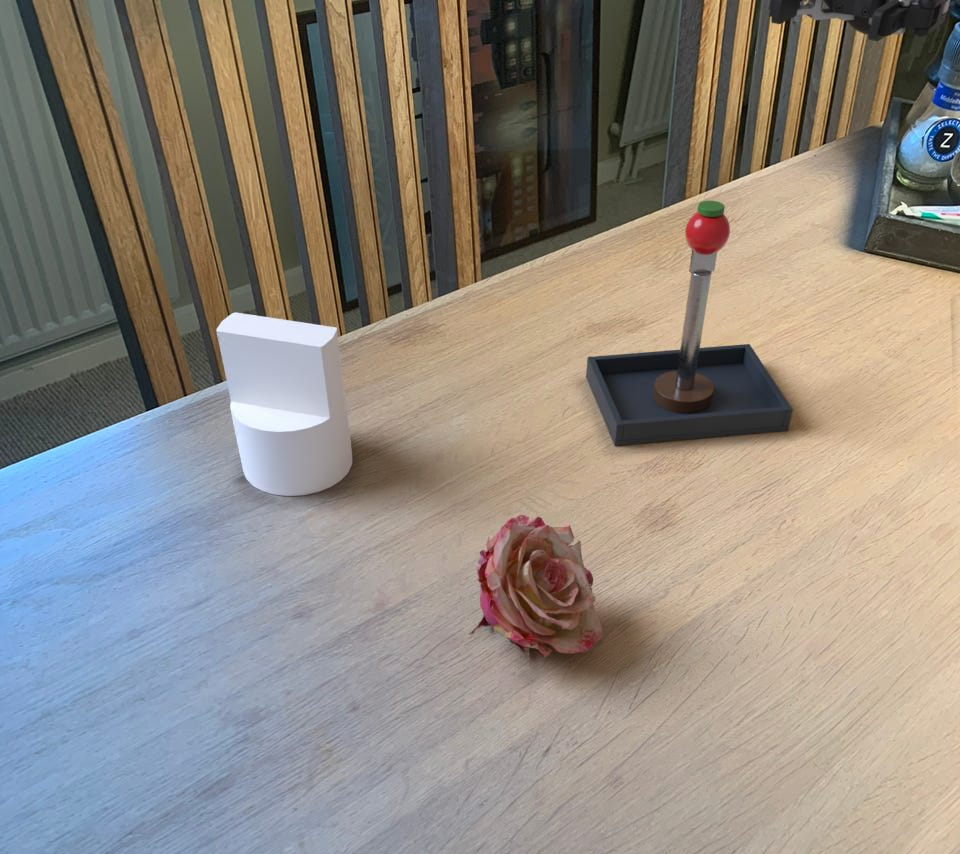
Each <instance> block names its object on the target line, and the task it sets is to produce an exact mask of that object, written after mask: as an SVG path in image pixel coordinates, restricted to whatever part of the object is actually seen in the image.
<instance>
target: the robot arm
mask: <svg viewBox="0 0 960 854" xmlns="http://www.w3.org/2000/svg"><path fill="white" fill-rule="evenodd" d="M801 3H805V4H801ZM823 3H824V4H825V5H826V6H827V7H828V8H823ZM950 3H951V0H769V5H768V11H769V15H768V17H771V19H770V20H771V23H772V24H776V25H782V24H784V23H785V22H787V21H790V20H791V19H793V18H795V17H798V16H805V15H806V17H808V18H810V19H812V20H814V21H823V20H830V19H839V20H840V21H844V22H845V21H846V22H847V24H849V26H851V27H852V28H853V29H854V30H855V31H856V32H859V33H860V34H863V35H867V36H868V37H867V39H868V40H869V41H872V42H879V41H881V40H883V39H884V38H885V37H890V36H892V35H901V34H904V33H905V32H906V29H907V28H910V29H913V33H912V34H914V35H915V36H917V37H924V36H928V35H930V34H931V33H932V32H933V31H935V30H936V29H937V28H938V27H939V26H940V25H941V24H943V23H944V22H945V20H946V17H947V14H948V9H949V6H950Z"/></svg>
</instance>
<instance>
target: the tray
mask: <svg viewBox="0 0 960 854" xmlns="http://www.w3.org/2000/svg"><path fill="white" fill-rule="evenodd" d="M679 354H680V349H671V350H669V349H668V350H658V351H656V350H655V351H646V352H644V351H643V352H632V353H631V352H630V353H621V354H619V353H618V354H608V355H607V354H606V355H597V356H596V355H595V356H587V360H586V372H585V378H586V381H587V383H588V386H589V387H590V390H591V392H592V395H593V397H594V400H595V402H596V404H597V408H598V409H599V412H600V414H601V416H602V419H603V421H604V424H605V426H606V429H607V431H608V434H609V436H610V438H611V441H612V442H613V446H614V447H618V446H620V447H621V446H631V445H642V444H653V443H664V442H675V441H688V440H696V439H697V440H698V439H707V438H708V439H710V438H719V437H730V436H731V437H733V436H742V435H754V434H764V433H776V432H787V431H789V428H790V423H791V420H792V415H793V411H794V410H793V408H792V405H790V403H789V401H788V399H786V397H785V395H784V393H783V392H782V391H781V389H780V388H779V386H778V384H777V383H776V382H775V380H774V379H773V377H772V376H771V374H770V372H769V371H768V370H767V368H766V367H765V365H764V364H763V362H762V360H761V359H760V358H759V356H758V354H757V352H755V350H754V348H753V346H751V344H750V343H744V344H732V345H731V344H730V345H718V346H708V347H705V346H704V347H700V349H699V355H698V361H697V368H696V373H698V374H701V375H703V376H705V377H707V378H708V379H709V380H710V381H711V382H712V383H713V385H714V394H713V399H712V403H711V405H710V406H709V407H708V408H706V409H705V410H702V411H700V412H696V413H677V412H672V411H669V410H666V409H664V408H662V407H661V406H659V405H658V404H657V403H656V402H655V400H654V398H653V390H654V383H655V380H656V379H657V378H658V377H659V376H660V375H662V374H664V373H667V372H671V371H677V368H678V361H679Z"/></svg>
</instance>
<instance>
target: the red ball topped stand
mask: <svg viewBox="0 0 960 854" xmlns="http://www.w3.org/2000/svg"><path fill="white" fill-rule="evenodd" d="M684 234H685V241H686V244H687V245H688V247H689V248H690V249H691V255H690V261H689V269H688V272H689V273H690V279H689V285H688V292H687V298H686V306H685V313H684V320H683V328H682V334H681V340H680V341H681V342H680V348H679V350H680V354H679V361H678V368H677V371H671V372H667V373H664V374H662V375H660V376H659V377H658V378H657V379H656V380H655V383H654V390H653V398H654V400H655V402H656V403H657V404H658V405H659V406H661V407H662V408H664V409H666V410H669V411H672V412H677V413H696V412H700V411H702V410H705V409H706V408H708V407H709V406H710V405H711V403H712V399H713V394H714V385H713V383H712V382H711V381H710V380H709V379H708V378H707V377H705V376H703V375H701V374H698V373H696V368H697V361H698V355H699V349H700V348H701V342H702V335H703V329H704V323H705V317H706V311H707V305H708V297H709V292H710V286H711V285H710V284H711V279H712V272H715V269H716V262H717V257H718V252H720V251H721V250H722V249H723V248H724V247H725V246H726V245H727V242H728V241H729V238H730V235H731V226H730V222H729V219H728V218H727V216H726V214H725V204H724V203H723V202H720V201H717V200H703V201H701V202H699V203H698V205H697V212H695V213H694V214H693V215H692V216H691V217H690V218H689V220H688V222H687V224H686V226H685V233H684Z"/></svg>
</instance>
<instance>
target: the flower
mask: <svg viewBox="0 0 960 854" xmlns="http://www.w3.org/2000/svg"><path fill="white" fill-rule="evenodd" d="M574 539H575V536H574V532H573V530H572V527H571V524H569V525H567V526H550V525H548V524H546V523H545V521H544V519H543V518H542V517H540V516H536V517H534V518H532V519H531V521H530V517H529V516H528V515H525V514H518V515H517V516H516V517H512V518H509V519H508V520H507V521H506V522H505V524H504V525H503V526H501V527H500V529H499V531H498V532H497V533H496V534H495V535H494V536H493V537H491V538H490V537H489V536H488V537H487V540H486V544H485V546H486V550H485V549H482V550H480V552H479V555H480V558H479V559H478V561H477V563H478V565H477V566H476V573H477V577H478V579H477V582H479V590H480V591H479V592H480V593H479V594H480V595H479V604H480V609H481V611H482V614H483V615H482V617H481V620H480V622H479V623H478V624H477V626H476V627H475V628H474V629H472V631H470V633H469V634H468V636H470V635H471V636H472V635H474V634H475V632H476V631H477V630H478V629H479V628H482V627H485V628H486V627H489V626H491V628H490V630H489V632H488V635H489V636H490V635H491V634H493V633H495V631H496V632H497V633H498V634H499V635H501V636H502V637H503V638H504V639H507V640H509V642H510V643H511V644H513V645H515V646H516V647H517V648H518V649H519V650H520V651H521V652H522V653H524V655H525V657H526V658H527V660H528V664H529V668H531V666H532V664H531V660H530V649H535V650H537V651H538V652H539V653H540V654H542V656H544V658H547V657H549V655H550V654H551V653H552V652H553V649H552V648H554V649H555V650H556V652H558V653H561V654H578V653H585V652H588V651H589V650H591V648H592V646H593V644H596V643H598V642H599V640H601V638H602V637H603V634H604V631H603V628H602V625H601V622H600V620H599V616H598V614H597V611H596V609H595V605H594V603H595V601H596V596H595V593H594V592H593V589H592V588H593V584H594V576H593V574H592V571H591V570H589V569H587V567H585V565H584V560H583V553H582V544H581V543H582V541H581V540H580V539H578V540H577V542H576V543H575V544H572V543H573V542H574ZM494 630H495V631H494ZM544 643H545V644H548V645H550V646H551V647H552V648H550V647H549V646H547V645H545V644H544Z"/></svg>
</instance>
